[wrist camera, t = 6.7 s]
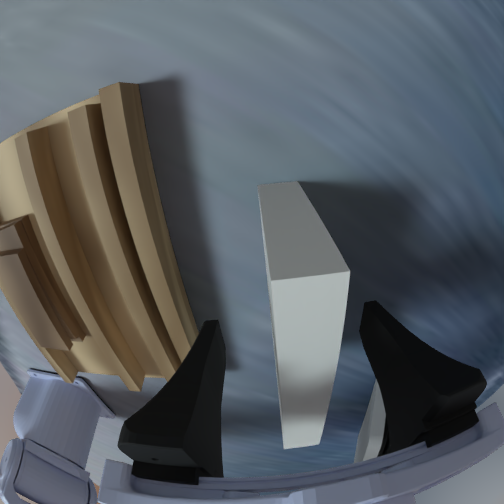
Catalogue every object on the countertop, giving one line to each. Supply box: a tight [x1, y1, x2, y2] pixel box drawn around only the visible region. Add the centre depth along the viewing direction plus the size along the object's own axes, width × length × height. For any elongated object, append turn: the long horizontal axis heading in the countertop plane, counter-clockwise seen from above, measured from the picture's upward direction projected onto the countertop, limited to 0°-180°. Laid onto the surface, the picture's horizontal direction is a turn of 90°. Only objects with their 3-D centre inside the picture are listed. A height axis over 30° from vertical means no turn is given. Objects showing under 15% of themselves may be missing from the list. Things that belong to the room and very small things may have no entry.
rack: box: [0, 82, 199, 391], centre depth 15 cm, size 14×20×3 cm
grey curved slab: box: [354, 379, 391, 473], centre depth 23 cm, size 17×5×10 cm, turn 11°
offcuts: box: [0, 214, 86, 351], centre depth 15 cm, size 4×10×2 cm, turn 6°
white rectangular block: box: [257, 181, 350, 449], centre depth 13 cm, size 2×12×8 cm, turn 6°
